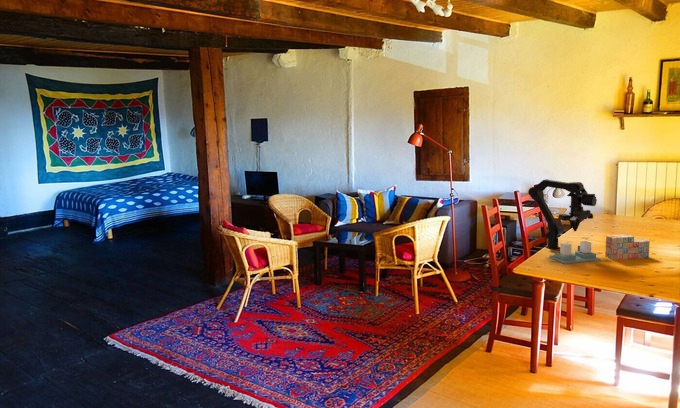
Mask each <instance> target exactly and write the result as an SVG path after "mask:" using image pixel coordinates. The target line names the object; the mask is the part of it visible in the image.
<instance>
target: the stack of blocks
mask: <svg viewBox="0 0 680 408" xmlns="http://www.w3.org/2000/svg"><path fill="white" fill-rule="evenodd" d="M604 256H605V258H607V257H608V258H607V259H609V258H610V260H611V259H614V260H628V258H630V259H642V258H644V259H645V258H649V257H650V241H649V240H648V239H645V238H635V236H633V235H630V234H612V235H610V234H609V235H606V239H605V255H604Z"/></svg>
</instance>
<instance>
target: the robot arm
mask: <svg viewBox="0 0 680 408" xmlns="http://www.w3.org/2000/svg"><path fill="white" fill-rule="evenodd" d="M546 188H553V189H560V190H565V191H567V192H569V193H568V194H567V195H566V196H567V197H570V205H569V206H568V207H569V209H570V212H568V214H567V213H560V214H558V216H557V217H558V218H557V219H558V220H559V221H557V220H556V219H555V216H554V215H553V213H552V211H551V209H550V206H549V205H548V203H547V202H546V200H545V196H544V195H545V193H544V190H546ZM527 194H528V195H529V197H530V198H531V199H532V200H533V201H535V202H536V204H537V206H538V207H539V209H540V211H541V214H542V215H543V217H544V219H545V222H546V223H547V231H548V232H547V233H545V235H544V236H545V239H547V241H546V242H547V243H546V244H547V245H544V247H545V248H547V249H549V250H556V249H558V250H559V249H560V246H559V238H560V237H561V235H562V234H563V233H564V231H565V229H564V226H563V224H562V222H561V221H568V222H569V223H570V226H571V228H572V229H573V232H577V231H578V228H579V227H580V224H581V223H582V222H583V221H585V220H587V219H588V220H589V219H594V215H593V213H591V210H590V209H585V210H584V206H589V207H595V206H596V205H597V201H598V200H597V197H596V194H595V193H588V191H587V190H586V188H585V186H584V184H583V183H582V182H580V181H576V182H575V181H573V182H571V181H570V182H565V181H558V180H552V179H543V180H541V181H540V182H539V183H537V184H536V185H535V186H532V187H530V188H529V189H528V193H527ZM582 205H583V206H582ZM560 220H561V221H560Z"/></svg>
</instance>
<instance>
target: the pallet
mask: <svg viewBox="0 0 680 408" xmlns="http://www.w3.org/2000/svg"><path fill="white" fill-rule="evenodd" d="M572 245H573V244H572V243H569V242H560V246H559V247H560V248H559V249H560V250H559V251H560V252H556V253H555V254H551V255H549V256H548V257H549V258H550V259H552V260H554V261H556V262H558V263H561V264H563V265H569V264H578V263H579V262H580V263H589V261H591V262H600V261H601V260H602V259H601V258H600V257H597V253H595V252H593V251H591V254H582V253H580V251H578V250H576V251H574V253H572Z"/></svg>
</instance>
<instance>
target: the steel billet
mask: <svg viewBox="0 0 680 408" xmlns="http://www.w3.org/2000/svg"><path fill="white" fill-rule="evenodd" d="M579 246H580V253H582V254H591V252H592V242H591V241H588V240H582V241H580V242H579Z"/></svg>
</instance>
